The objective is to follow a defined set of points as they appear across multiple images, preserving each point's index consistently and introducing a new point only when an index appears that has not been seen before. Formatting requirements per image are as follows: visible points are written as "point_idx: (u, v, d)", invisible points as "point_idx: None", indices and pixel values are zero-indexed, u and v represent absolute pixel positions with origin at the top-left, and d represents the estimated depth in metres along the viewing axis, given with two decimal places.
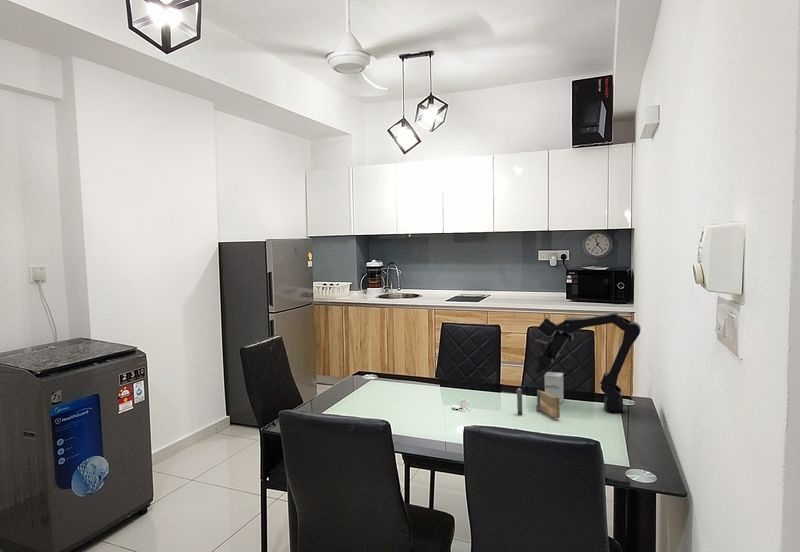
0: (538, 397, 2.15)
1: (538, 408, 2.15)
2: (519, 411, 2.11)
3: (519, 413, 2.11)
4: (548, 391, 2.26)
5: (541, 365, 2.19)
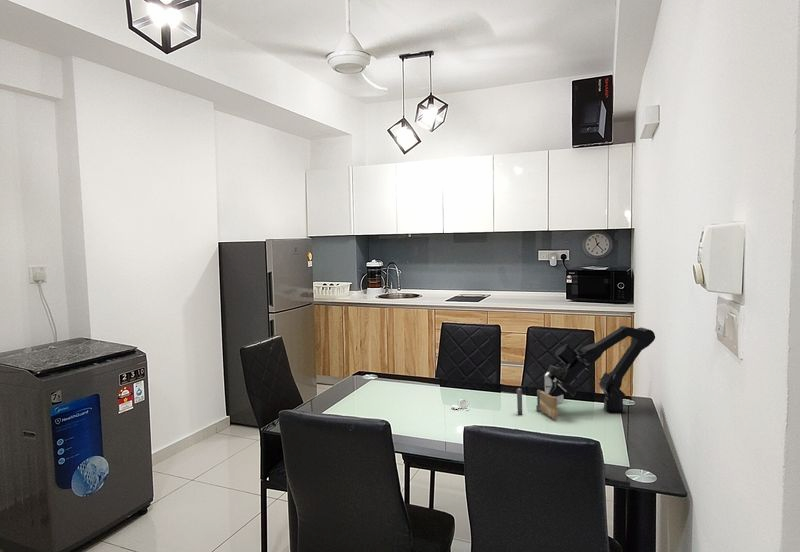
0: (538, 397, 2.15)
1: (538, 408, 2.15)
2: (519, 411, 2.11)
3: (519, 413, 2.11)
4: (548, 391, 2.26)
5: (556, 391, 2.09)
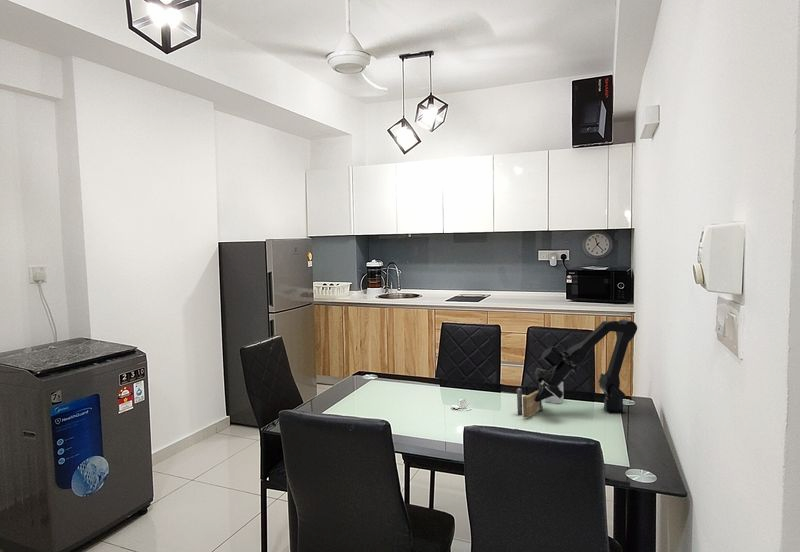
0: None
1: None
2: (519, 411, 2.11)
3: (519, 413, 2.11)
4: None
5: (543, 393, 2.09)
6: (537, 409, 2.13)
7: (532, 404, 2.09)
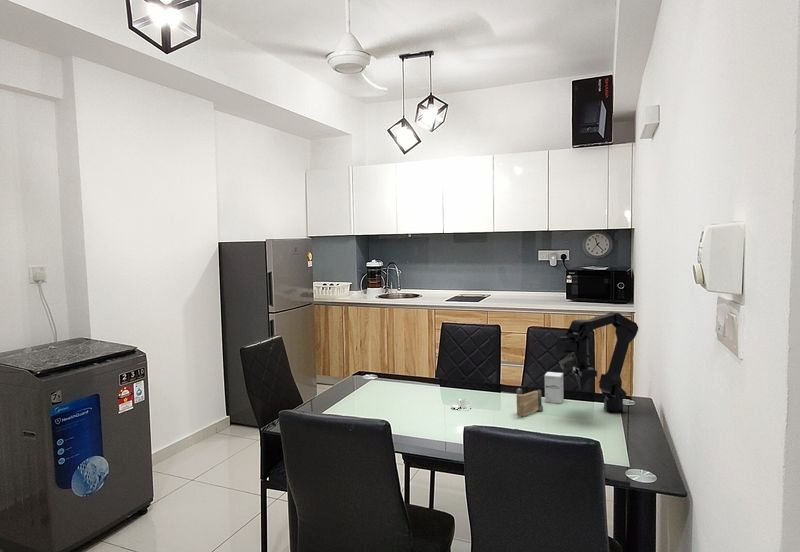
0: None
1: (538, 408, 2.15)
2: None
3: None
4: (548, 391, 2.26)
5: (582, 378, 2.03)
6: (536, 409, 2.13)
7: (527, 403, 2.10)
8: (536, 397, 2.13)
